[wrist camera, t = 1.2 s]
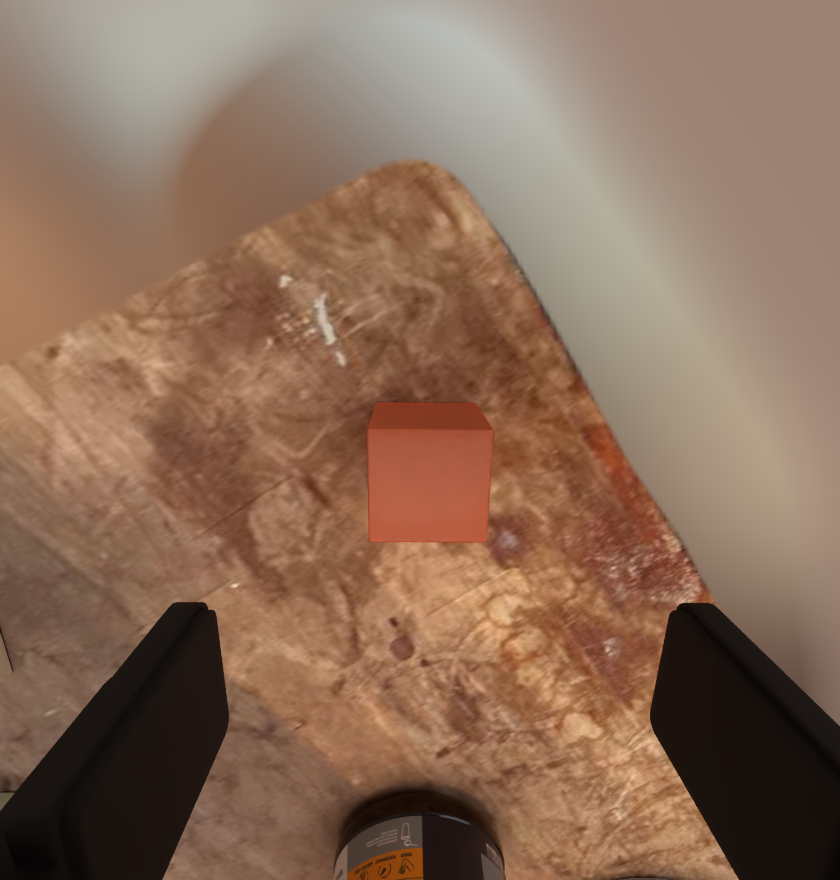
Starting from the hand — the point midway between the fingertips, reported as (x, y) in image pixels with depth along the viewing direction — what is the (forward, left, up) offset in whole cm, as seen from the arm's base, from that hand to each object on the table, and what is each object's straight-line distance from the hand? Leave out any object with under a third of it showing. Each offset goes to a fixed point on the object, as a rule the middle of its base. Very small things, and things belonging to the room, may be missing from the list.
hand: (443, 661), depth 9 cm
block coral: (0, 0, -13) cm, 13 cm away
